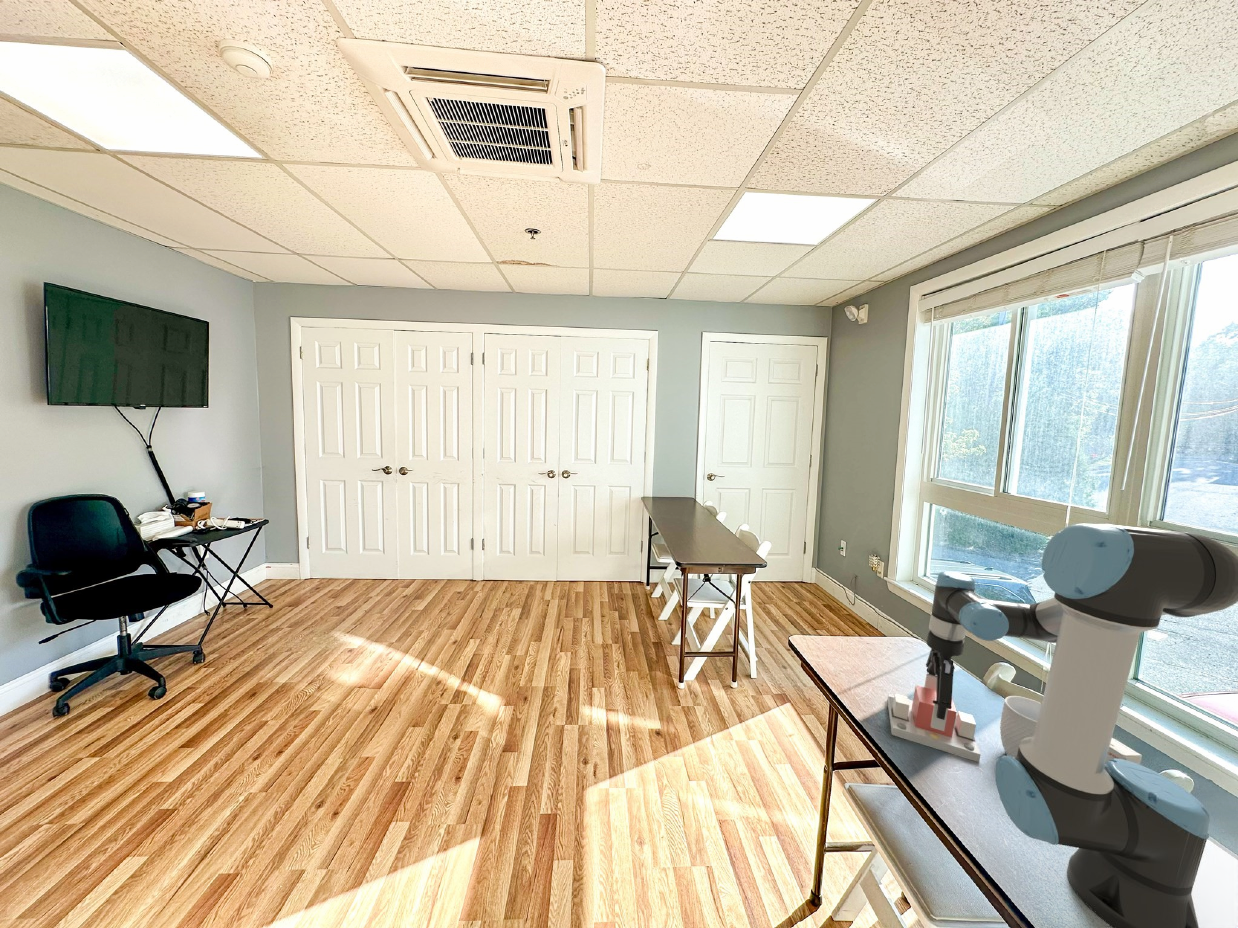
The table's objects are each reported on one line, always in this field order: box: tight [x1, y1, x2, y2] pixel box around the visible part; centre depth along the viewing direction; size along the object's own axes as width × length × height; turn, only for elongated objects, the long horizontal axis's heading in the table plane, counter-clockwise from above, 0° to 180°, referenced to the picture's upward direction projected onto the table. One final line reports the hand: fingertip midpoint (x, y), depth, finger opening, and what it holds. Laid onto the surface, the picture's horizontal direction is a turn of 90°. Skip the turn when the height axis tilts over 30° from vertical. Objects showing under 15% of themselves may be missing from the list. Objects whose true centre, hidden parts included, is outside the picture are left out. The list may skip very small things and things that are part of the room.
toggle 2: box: [955, 710, 977, 739], centre depth 119 cm, size 4×3×4 cm
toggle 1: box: [893, 693, 910, 720], centre depth 125 cm, size 4×3×4 cm
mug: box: [999, 695, 1042, 757], centre depth 111 cm, size 15×11×13 cm
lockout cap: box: [912, 684, 958, 738], centre depth 122 cm, size 8×8×7 cm
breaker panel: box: [887, 693, 982, 763], centre depth 123 cm, size 16×18×2 cm
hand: (932, 712), depth 122 cm, fingers open, 13 cm apart
